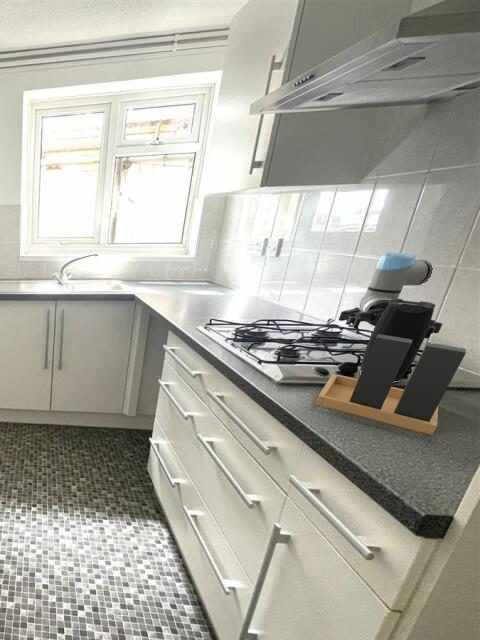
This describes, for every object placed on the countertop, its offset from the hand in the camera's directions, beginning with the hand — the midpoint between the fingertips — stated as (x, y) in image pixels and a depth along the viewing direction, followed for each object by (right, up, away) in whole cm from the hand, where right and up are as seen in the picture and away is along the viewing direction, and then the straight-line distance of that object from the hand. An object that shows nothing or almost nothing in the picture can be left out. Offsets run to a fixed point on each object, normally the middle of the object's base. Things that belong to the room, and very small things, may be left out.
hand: (392, 328), depth 107 cm
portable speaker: (-5, -13, -1) cm, 14 cm away
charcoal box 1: (-26, -20, -19) cm, 38 cm away
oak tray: (-21, -20, -16) cm, 33 cm away
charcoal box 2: (-21, -22, -24) cm, 38 cm away
